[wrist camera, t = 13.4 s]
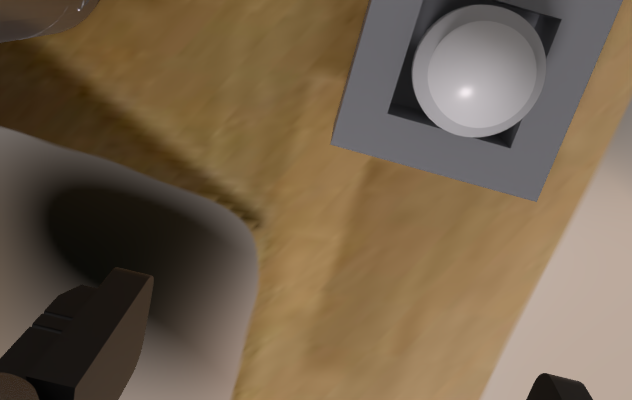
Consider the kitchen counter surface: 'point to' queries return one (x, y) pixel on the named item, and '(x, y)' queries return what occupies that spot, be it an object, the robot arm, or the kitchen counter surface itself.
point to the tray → (471, 85)
